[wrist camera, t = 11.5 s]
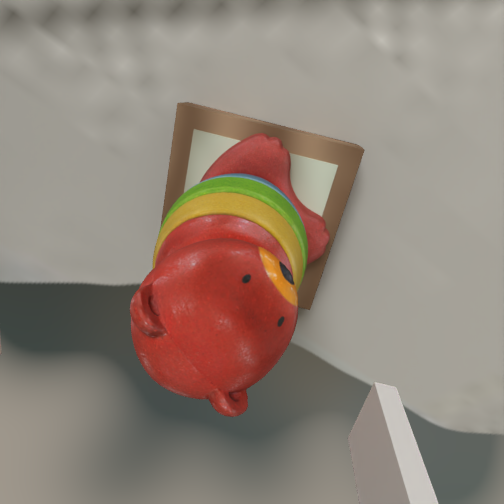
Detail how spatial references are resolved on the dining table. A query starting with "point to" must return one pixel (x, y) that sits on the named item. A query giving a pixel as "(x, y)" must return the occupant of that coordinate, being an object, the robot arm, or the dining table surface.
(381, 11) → the dining table surface
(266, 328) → the stacking bear
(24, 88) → the dining table surface
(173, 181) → the picture frame
